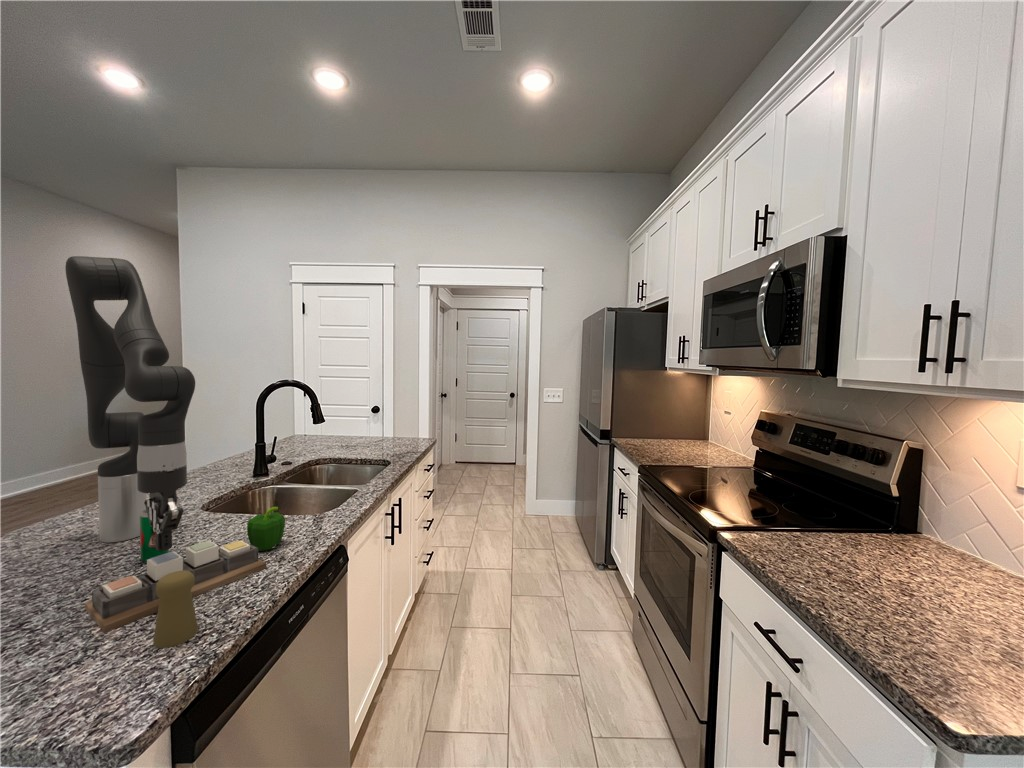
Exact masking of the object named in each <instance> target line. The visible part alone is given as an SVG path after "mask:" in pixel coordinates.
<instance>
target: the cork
mask: <svg viewBox="0 0 1024 768" xmlns="http://www.w3.org/2000/svg"><path fill="white" fill-rule="evenodd" d="M194 582H195V578H194V575H193V574H192V573H191V572H190V571H185V570H182V571H175V572H172V573H169V574H167V575H165V576H163V577H162V578H161V579H159V581H158V582H157V584H156V587H155V592H156V594H157V596H158V597H159V598H160V601H159V607H158V612H157V614H156V621H155V622H156V623H155V628H154V632H153V633H154V634H153V640H152V645H153V647H155V648H157V649H166V648H172V647H176V646H179V645H181V644H183V643H185V642H187V641H189V640H191V639H192V638H194V637H195V636H196V634H197V633H198V631H199V625H198V622H197V621H198V620H197V615H196V610H195V604H194V600H193V598H192V594H191V589H192V587H193V585H194Z"/></svg>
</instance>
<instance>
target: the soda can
mask: <svg viewBox="0 0 1024 768" xmlns="http://www.w3.org/2000/svg"><path fill="white" fill-rule="evenodd" d="M155 533H156V532H154V531H153V527H151V526H150V522H149V518H148V515H147V511H146V509H145V510H143V511H142V514H141V515H140V536H139V549H140V552H139V553H140V555H139V556H140V560H141V562H143V563H146V564H147V560H148V559H151V558H153V557H156V556H159V555H163V554H166V553H169V552H170V549H168V550H165V551H161V552H159V551H158V550H156V543H155Z"/></svg>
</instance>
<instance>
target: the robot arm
mask: <svg viewBox="0 0 1024 768" xmlns="http://www.w3.org/2000/svg"><path fill="white" fill-rule="evenodd" d="M65 277H66V281H67V286H68V292H69V296H70V299H71V300H70V301H71V304H72V308H73V313H74V316H75V323H76V329H77V339H78V351H79V361H80V369H81V373H82V379H83V385H84V391H85V397H86V405H87V406H86V409H87V413H86V414H87V431H88V434H87V435H88V439H89V442H90V444H91V446H92V447H93V448H95V449H99V450H100V449H118V448H127V447H128V448H129V450H128V451H127V452H125V453H123V454H122V455H120V456H117V457H114V458H111V459H109V460H106V461H103V462H102V463H100V464H98V466H97V492H98V493H97V494H98V534H99V542H101V543H117V542H123V541H124V542H125V541H128V540H132V539H134V538H135V539H136V538H138V537H140V515H141V514H142V511H143V510H145V509H146V511H147V515H148V518H149V522H150V526H151V527H153V531H154V532H156V533H155V543H156V550H158V551H159V552H161V551H165V550H168V549H169V550H170V549H172V547H173V531H175V530H178V528H179V524H180V523H181V522H180V521H181V519H182V517H183V514H184V509H183V507H180V508H178V506H179V505H180V497H179V496H178V495H177V490H179V489H182V488H184V487H185V486H186V485H187V483H188V470H187V469H188V465H187V464H188V463H187V462H188V460H187V458H188V456H187V455H188V453H187V447H186V433H185V432H186V431H185V430H186V429H185V428H186V427H185V423H186V418H187V415H188V411H189V408H190V404H191V401H192V398H193V396H194V393H195V389H196V379H195V376H194V374H193V372H192V371H191V370H190V369H188V368H187V367H186V366H185V367H184V366H179V365H173V366H172V365H170V366H169V365H166V366H165V364H166V363H167V362H168V361H169V359H170V353H169V350H168V348H167V346H166V344H165V342H164V340H163V338H162V337H161V335H160V333H159V331H158V329H157V327H156V325H155V322H154V319H153V316H152V312H151V308H150V305H149V302H148V299H147V296H146V292H145V289H144V286H143V282H142V280H141V276H140V274H139V272H138V271H137V269H136V267H135V266H134V264H133V263H132V262H131V261H129V260H127V259H125V258H124V259H123V258H117V257H116V258H115V257H99V256H85V255H84V256H81V255H76V256H69V257H68V258H67V259H66V262H65ZM95 301H127V303H126V307H125V309H124V310H123V312H122V313H121V315H120V316H119V317H118V319H117V321H116V323H115V324H114V328H113V327H112V326H111V325H110V324H109V323H108V322H107V321H106V320H105V319H104V318H103V317H102V315H101V314H100V313H99V312H98V311H97V309H96V307H95ZM123 390H125V393H126V394H127V395H128V397H129V398H131V399H132V400H134V401H136V402H139V403H141V402H142V403H154V402H166V404H165V406H164V407H163V409H160V410H159V411H155V412H152V413H148V414H144V413H143V412H140V411H131V412H130V411H129V412H128V411H127V412H126V411H125V412H107V410H108V408H109V406H110V404H111V403H112V402H113V400H114V399H115V398H116V397H117V396H118V395H119V394H120V393H121V392H122V391H123ZM148 495H149V496H148ZM147 496H148V497H149V498H147Z"/></svg>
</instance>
